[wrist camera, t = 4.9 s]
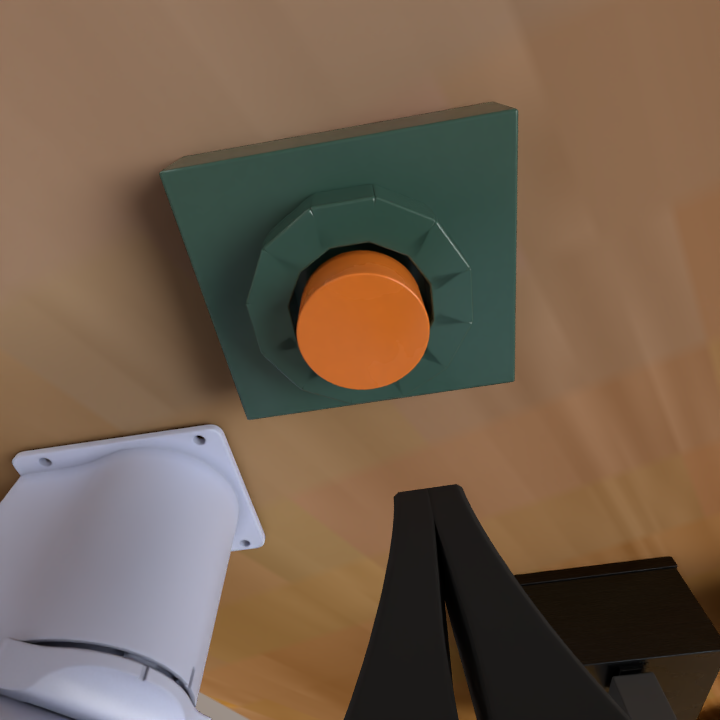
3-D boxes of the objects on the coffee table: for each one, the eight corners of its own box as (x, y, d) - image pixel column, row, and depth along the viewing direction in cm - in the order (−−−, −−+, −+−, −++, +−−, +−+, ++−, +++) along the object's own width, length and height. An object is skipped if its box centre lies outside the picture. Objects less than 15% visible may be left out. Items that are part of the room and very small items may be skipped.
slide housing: (506, 694, 35) (528, 783, 31) (506, 576, 28) (536, 672, 24) (635, 680, 35) (677, 768, 30) (671, 556, 27) (733, 650, 23)
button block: (256, 384, 20) (239, 450, 17) (181, 156, 16) (136, 185, 12) (497, 348, 20) (529, 409, 16) (495, 100, 15) (539, 114, 12)
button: (314, 366, 16) (311, 398, 14) (288, 260, 14) (281, 285, 12) (426, 349, 15) (434, 380, 14) (415, 239, 14) (424, 262, 12)
